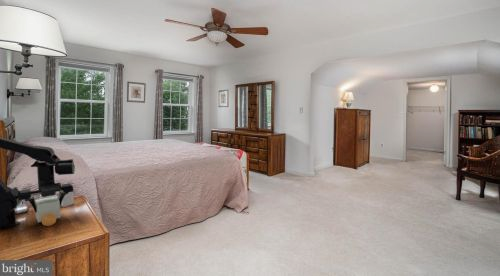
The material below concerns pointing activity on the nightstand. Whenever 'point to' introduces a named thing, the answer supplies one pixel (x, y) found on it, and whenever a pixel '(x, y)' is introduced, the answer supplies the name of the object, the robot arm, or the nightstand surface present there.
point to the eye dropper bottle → (67, 199)
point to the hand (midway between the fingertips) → (47, 209)
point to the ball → (49, 219)
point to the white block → (47, 207)
